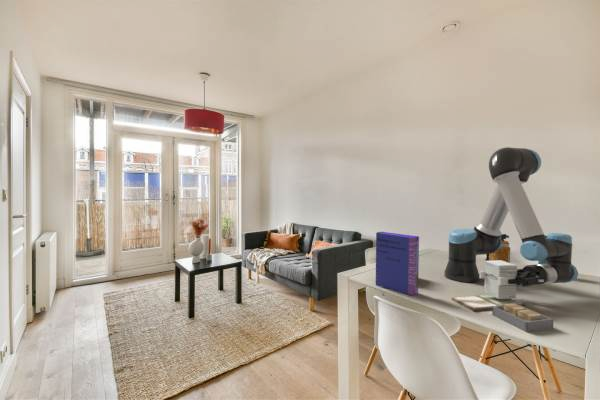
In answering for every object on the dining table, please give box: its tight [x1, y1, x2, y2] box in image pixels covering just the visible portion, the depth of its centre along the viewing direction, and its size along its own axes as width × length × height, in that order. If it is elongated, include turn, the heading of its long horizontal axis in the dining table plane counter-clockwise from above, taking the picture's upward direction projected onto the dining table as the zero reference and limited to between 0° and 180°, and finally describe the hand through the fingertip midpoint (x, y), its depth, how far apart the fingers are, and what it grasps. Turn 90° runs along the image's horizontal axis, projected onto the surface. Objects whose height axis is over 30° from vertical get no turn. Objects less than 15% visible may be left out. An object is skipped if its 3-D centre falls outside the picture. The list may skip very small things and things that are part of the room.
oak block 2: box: [518, 309, 541, 321], centre depth 91 cm, size 4×4×4 cm
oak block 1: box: [504, 304, 526, 317], centre depth 95 cm, size 4×4×4 cm
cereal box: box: [375, 231, 420, 297], centre depth 124 cm, size 17×5×24 cm, turn 42°
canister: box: [484, 233, 511, 263], centre depth 153 cm, size 9×11×20 cm
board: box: [451, 294, 526, 313], centre depth 108 cm, size 11×22×2 cm, turn 102°
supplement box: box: [483, 260, 518, 300], centre depth 109 cm, size 7×7×13 cm
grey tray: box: [491, 304, 554, 333], centre depth 93 cm, size 12×10×4 cm
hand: (489, 277), depth 108 cm, fingers closed on supplement box, 8 cm apart
